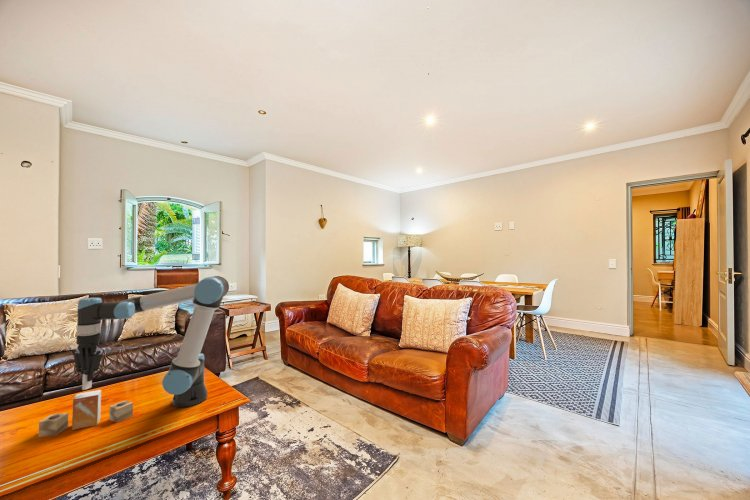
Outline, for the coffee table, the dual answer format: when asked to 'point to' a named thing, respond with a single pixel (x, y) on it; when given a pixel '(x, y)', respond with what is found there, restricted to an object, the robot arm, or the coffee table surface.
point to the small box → (86, 409)
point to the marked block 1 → (53, 424)
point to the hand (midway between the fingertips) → (86, 388)
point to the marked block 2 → (121, 411)
